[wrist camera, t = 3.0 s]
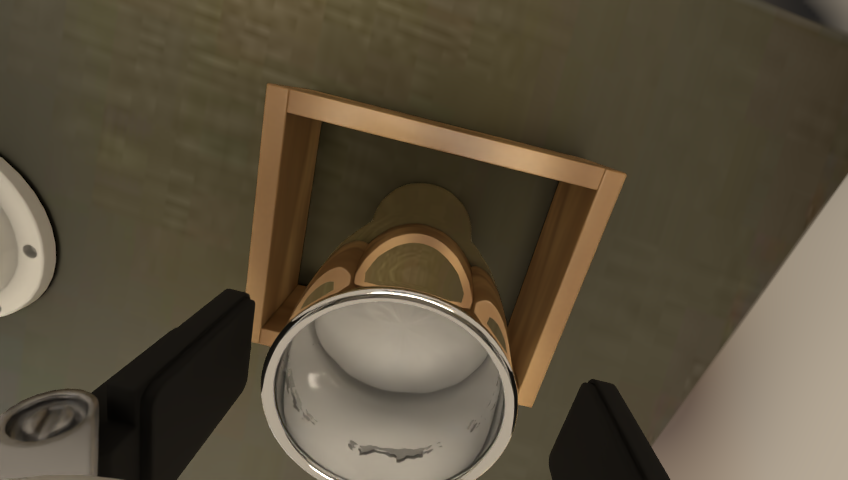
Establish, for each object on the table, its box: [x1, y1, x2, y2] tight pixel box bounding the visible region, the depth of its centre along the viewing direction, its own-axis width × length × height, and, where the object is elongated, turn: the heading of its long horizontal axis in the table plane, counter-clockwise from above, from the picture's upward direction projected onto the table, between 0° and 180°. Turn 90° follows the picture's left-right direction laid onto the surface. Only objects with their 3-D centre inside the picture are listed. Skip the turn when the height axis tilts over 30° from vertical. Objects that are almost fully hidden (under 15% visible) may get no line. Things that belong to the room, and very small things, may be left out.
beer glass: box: [261, 183, 518, 480], centre depth 17 cm, size 7×7×15 cm
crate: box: [246, 83, 627, 407], centre depth 22 cm, size 16×13×6 cm
